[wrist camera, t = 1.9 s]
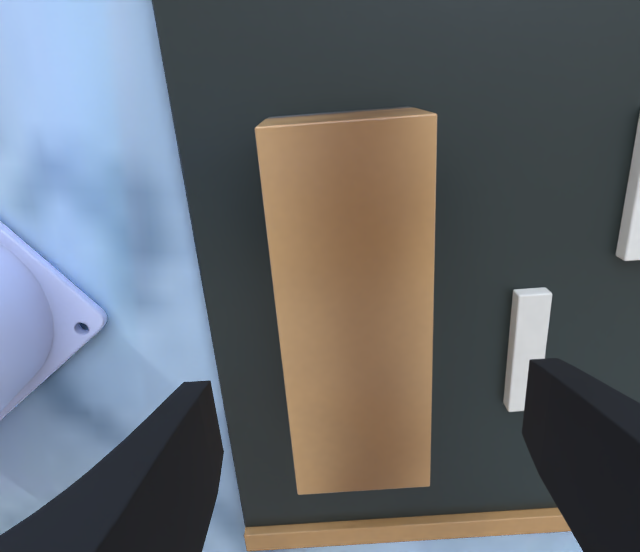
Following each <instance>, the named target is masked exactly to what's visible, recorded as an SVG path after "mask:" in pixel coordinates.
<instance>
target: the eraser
mask: <svg viewBox="0 0 640 552" xmlns="http://www.w3.org/2000/svg"><path fill="white" fill-rule="evenodd" d="M255 137H256V145H257V154H258V162H259V171H260V179H261V188H262V196H263V205H264V213H265V222H266V230H267V239H268V248H269V256H270V265H271V273H272V282H273V290H274V299H275V307H276V316H277V324H278V333H279V341H280V350H281V358H282V367H283V375H284V384H285V392H286V401H287V409H288V418H289V426H290V435H291V443H292V452H293V460H294V469H295V477H296V486H297V493H298V495H303V494H319V493H335V492H350V491H366V490H381V489H397V488H413V487H428V486H430V464H431V413H432V362H433V311H434V260H435V209H436V158H437V114H436V113H433V112H429V111H425V110H422V109H418V108H413V107H409V106H406V107H393V108H380V109H367V110H354V111H340V112H327V113H314V114H301V115H288V116H274V117H268V118H267V119H265V120H264V121H262V122H261V123H260V124H259V125H257V126H256V127H255Z"/></svg>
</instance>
